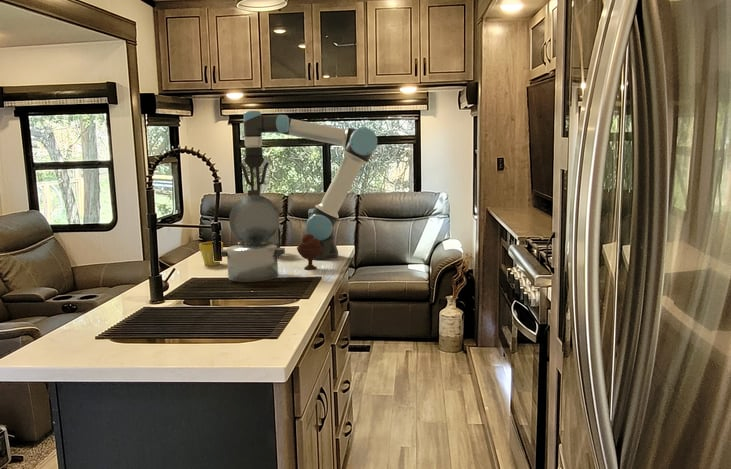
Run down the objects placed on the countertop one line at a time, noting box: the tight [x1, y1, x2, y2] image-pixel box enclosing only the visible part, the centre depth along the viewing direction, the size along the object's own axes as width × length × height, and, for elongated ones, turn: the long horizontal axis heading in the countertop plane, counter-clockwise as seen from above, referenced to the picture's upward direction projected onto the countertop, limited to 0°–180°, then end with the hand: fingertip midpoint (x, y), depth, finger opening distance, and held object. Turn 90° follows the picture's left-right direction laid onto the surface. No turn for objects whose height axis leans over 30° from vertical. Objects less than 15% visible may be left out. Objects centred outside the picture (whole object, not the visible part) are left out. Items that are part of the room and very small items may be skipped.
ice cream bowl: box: [296, 233, 323, 271], centre depth 262 cm, size 11×11×15 cm
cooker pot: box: [221, 243, 286, 283], centre depth 250 cm, size 26×20×12 cm
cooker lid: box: [228, 189, 280, 245], centre depth 262 cm, size 21×24×4 cm
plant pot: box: [198, 241, 224, 267], centre depth 278 cm, size 10×10×10 cm
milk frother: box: [264, 227, 281, 257], centre depth 298 cm, size 14×16×15 cm
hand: (256, 200), depth 272 cm, fingers closed
